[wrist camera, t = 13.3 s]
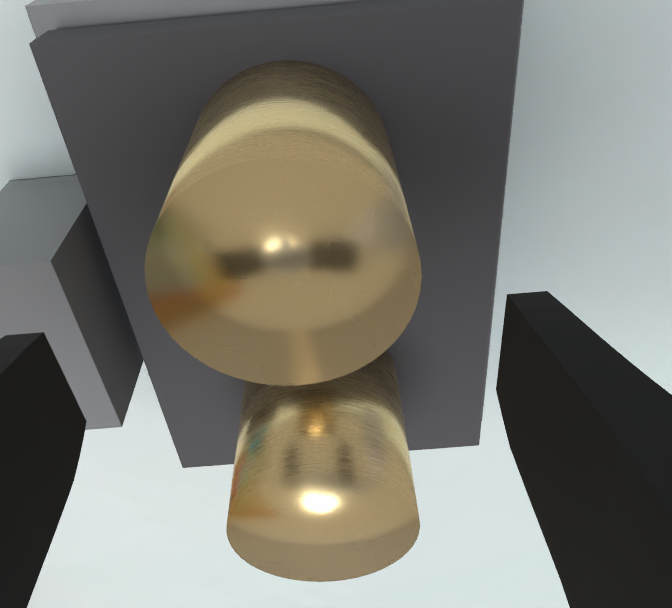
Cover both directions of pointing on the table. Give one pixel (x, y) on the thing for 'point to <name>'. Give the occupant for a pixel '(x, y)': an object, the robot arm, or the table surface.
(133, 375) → the scale
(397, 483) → the cylinder
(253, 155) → the cylinder
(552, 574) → the table surface
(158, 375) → the scale pan
